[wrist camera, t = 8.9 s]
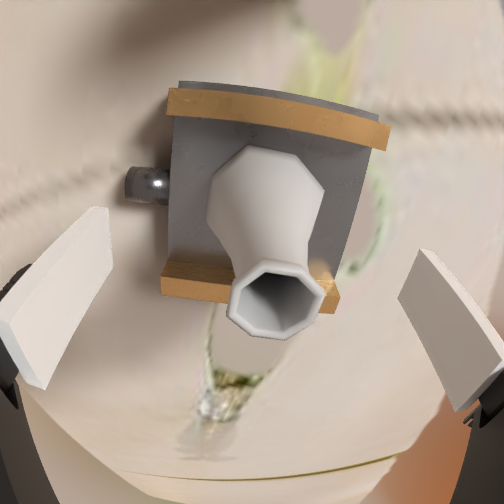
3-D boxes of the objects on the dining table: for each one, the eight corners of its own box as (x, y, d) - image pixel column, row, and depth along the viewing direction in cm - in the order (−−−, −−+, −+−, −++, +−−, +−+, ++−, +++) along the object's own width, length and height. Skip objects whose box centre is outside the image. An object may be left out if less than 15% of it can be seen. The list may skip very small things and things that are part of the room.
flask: (343, 185, 18) (418, 270, 9) (281, 270, 21) (298, 390, 12) (242, 123, 16) (230, 152, 7) (186, 222, 19) (139, 331, 10)
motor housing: (145, 81, 17) (118, 79, 13) (364, 112, 18) (392, 117, 14) (139, 261, 23) (121, 293, 19) (320, 283, 24) (332, 319, 21)
